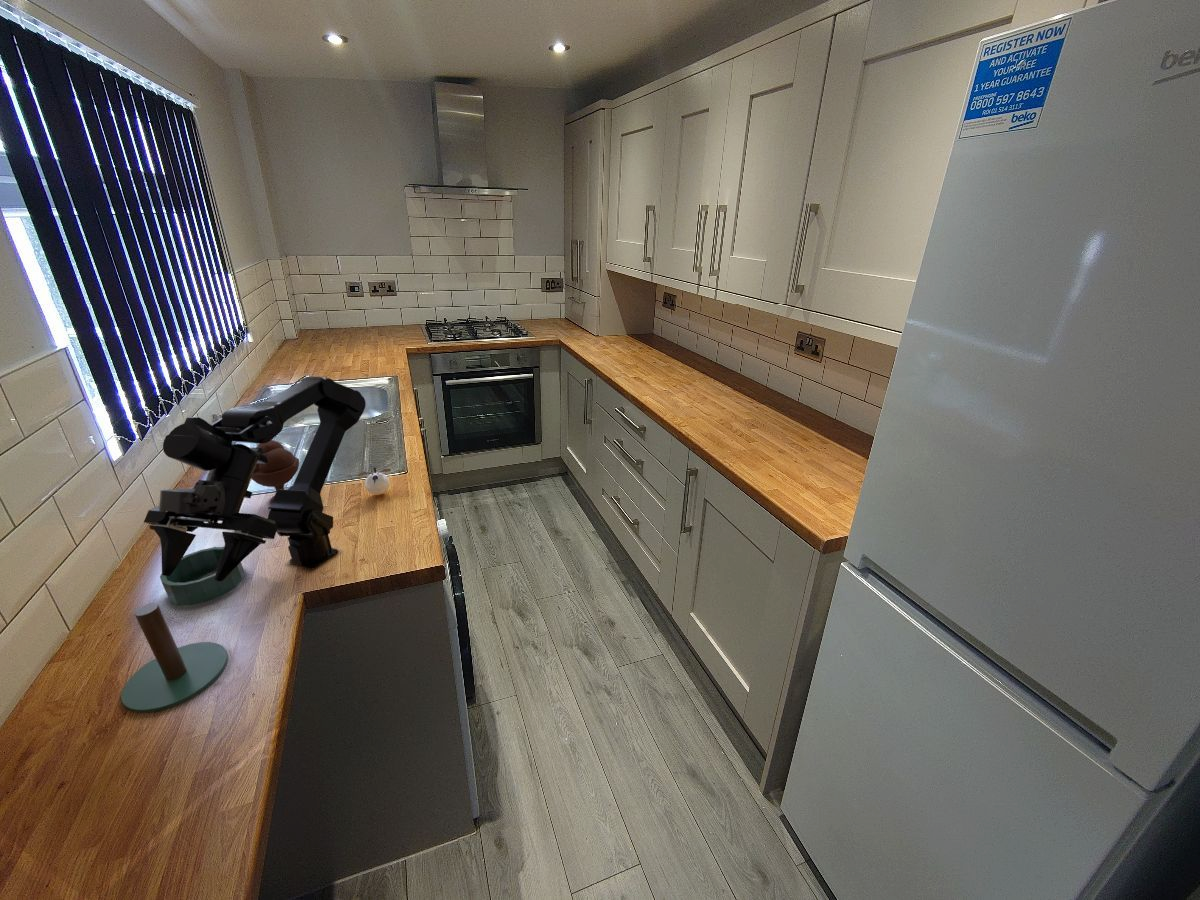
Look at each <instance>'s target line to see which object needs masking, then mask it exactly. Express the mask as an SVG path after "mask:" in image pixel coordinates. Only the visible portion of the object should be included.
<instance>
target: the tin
mask: <svg viewBox="0 0 1200 900" xmlns="http://www.w3.org/2000/svg"><path fill="white" fill-rule="evenodd" d="M223 549H224V546H213V547H209V548H203V549H200V550H197V551H194V552H191V553H188V554H186V555H185V554H184V556H183V557H182V559H181V561H180V562H179V564H178V566H177V567H176V569H175V570H174V571H173V573H172V574H171V575H170V576H163V575H162V573H161V574H160V575H159V580H160V581H161V584H162V586H163V589H164V591H165V593H166V595H167V598H168V600H169V602H170V603H171V604H174V605H176V606H194V605H199V604H203V603H208V602H210V601H213V600H215V599H217V598H220V597H222V596H225V594H227V593H229V592H230V591H232V590H234V589H235V588H236V587H237V586H238V585H239V584H240V583H242V581H243V580H244V578H245V574H246V572H245V569H244V566H243V564H242V561H241V562H240V563H239V564H238V566H237V567H236V568H235V569H234V570H233V571H232V572H231V573H230V574H229V575H228V576H227V577H226V578H225V579H224V580H223V581H222V582H219V581H215V576H216V572H214V573H213V574H211V575H208V574H210V573H211V572H213V571H215V570H217V568H218V565H219V561H220V558H221V555H222V552H223ZM206 575H208V576H206Z"/></svg>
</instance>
